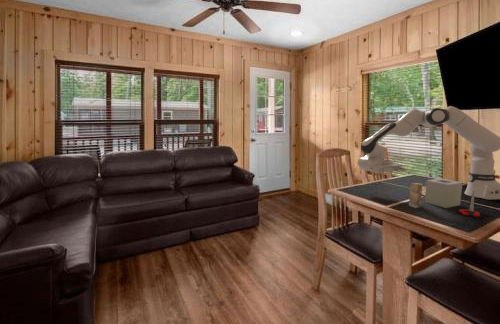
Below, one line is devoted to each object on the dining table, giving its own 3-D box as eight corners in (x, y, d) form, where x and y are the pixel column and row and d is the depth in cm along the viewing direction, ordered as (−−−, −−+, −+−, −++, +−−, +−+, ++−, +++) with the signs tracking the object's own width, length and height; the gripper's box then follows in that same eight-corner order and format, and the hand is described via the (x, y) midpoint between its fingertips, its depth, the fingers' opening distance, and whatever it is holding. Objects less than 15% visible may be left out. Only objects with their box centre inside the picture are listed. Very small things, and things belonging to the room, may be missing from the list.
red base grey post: (457, 210, 149) (460, 215, 141) (460, 186, 147) (463, 190, 139) (477, 213, 145) (481, 217, 137) (480, 188, 143) (484, 192, 135)
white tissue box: (438, 199, 167) (440, 178, 165) (459, 205, 156) (462, 182, 154) (424, 202, 162) (426, 180, 160) (445, 208, 151) (448, 184, 149)
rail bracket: (413, 205, 157) (415, 182, 155) (420, 207, 153) (422, 184, 151) (408, 205, 156) (410, 183, 154) (415, 208, 152) (417, 184, 150)
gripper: (366, 162, 171) (385, 166, 159) (391, 160, 179) (410, 163, 166) (366, 172, 172) (384, 176, 160) (390, 169, 180) (409, 173, 167)
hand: (397, 170), depth 163 cm, fingers open, 8 cm apart
